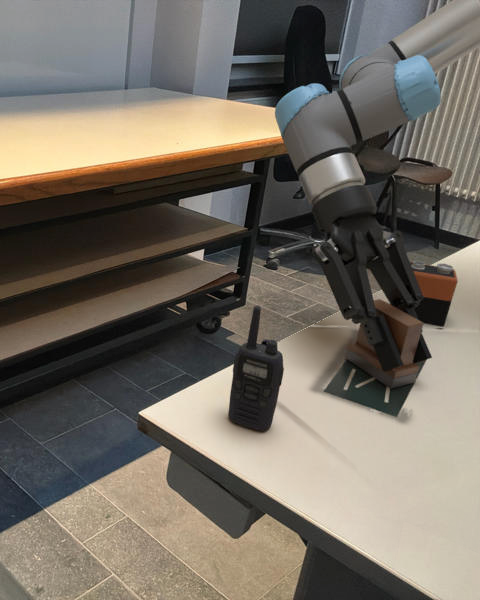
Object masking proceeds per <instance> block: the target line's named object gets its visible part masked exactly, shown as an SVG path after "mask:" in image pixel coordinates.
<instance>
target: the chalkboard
mask: <svg viewBox="0 0 480 600" xmlns="http://www.w3.org/2000/svg"><path fill="white" fill-rule="evenodd" d="M426 362H427V360H424V361H421V362H418V363H415V364H417V365H419V369H418V372H417V376H416V379H415V382H414V383H411V384H407V385H404V386H400V387H397V388H393V389H390V388H389V387H387V386H386V385H384V384H383V383H381V382H380V381H379V380H377V379H376V378H374V377H373V376H371V375H370V374H368V373H367V372H365V371H364V370H362V369H361V368H359V367H358V366H356V365H355V364H353V363H352V362H350V361H349V360H347V359H345V361H344V363H343V364H342V365H341V367H340V368H339V369H338V370H337V372H336V373H335V375H334V376H333V377H332V379H331V380H330V382H329V383H328V384H327V386H326V387H325V388H324V390H323V393H325V394H329V395H332V396H334V397H338V398H340V399H343V400H346V401H348V402H352V403H354V404H357V405H360V406H363V407H366V408H369V409H372V410H374V411H377V412H381V413H382V414H385V415H389V416H392V417H394V418H398V416H399V414H400V412H401V410H402V409H403V407H404V405H405V402H406V401H407V399H408V397H409V396H410V393H411V391H412V390H413V388H414V385H415V383H416V382H417V379H418V377H419V375H420V373H421V372H422V370H423V368H424V366H425V364H426Z"/></svg>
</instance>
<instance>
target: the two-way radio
mask: <svg viewBox="0 0 480 600" xmlns="http://www.w3.org/2000/svg"><path fill="white" fill-rule="evenodd" d="M261 310H262V307H261V306H260V305H255V306H253V310H252V315H251V320H250V324H249V331H248V335H247V336H248V337H247V342H244V343H243V344H241V346H240V347H239V349H238V351H237V353H236V354H235V356H234V360H233V361H234V362H233V367H232V380H231V386H230V393H229V403H228V412H227V415H228V419H229V420H230V421H231V422H233V423H235V424H238V425H240V426H243V427H247V428H249V429H251V430H252V429H253V430H255V431H258V432H259V431H260V432H265V431H268V430H269V429H270V428H271V427H272V424H273V421H274V416H275V412H276V408H277V403H278V399H279V393H280V388H281V386H282V382H283V377H284V371H285V367H284V357H283V353H282V352H281V351H279V350H278V349H279V348H278V342H277V341H276V340H274V339H267V338H265V339H263V340H262V341H261V343H259V342H258V335H259V329H260V320H261V313H262V312H261ZM257 342H258V343H257Z"/></svg>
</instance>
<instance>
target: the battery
mask: <svg viewBox="0 0 480 600" xmlns="http://www.w3.org/2000/svg"><path fill="white" fill-rule="evenodd" d="M410 264H411V267H412V269H413V272H414V274H415V277H416V279H417V282H418V284H419V287H420V289H421V292H422V294H423V300H422V301H420V304H419V305H418V306H416V307H414V310H415V312H416V315H417V317H418V319H419V321H421V322H423V323H424V324H425V325H429V326H436V327H435V329H436V330H437V329H438V330H444V328H443V327H445V324H446V322H447V318H448V314H449V311H450V309H451V305H452V301H453V298H454V294H455V291H456V288H457V284H458V282H459V281H458V277H457V272H456V270H455V269H454V266H453V265H450V264H447V263H437V265H432V264H426V263H425V262H423V261H419V260H414V261H413V262H412V261H410ZM400 302H401V300H400ZM424 324H423V325H424Z"/></svg>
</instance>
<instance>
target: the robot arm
mask: <svg viewBox="0 0 480 600" xmlns="http://www.w3.org/2000/svg"><path fill="white" fill-rule="evenodd" d="M479 48H480V0H451V1H449V2H448V3H446V4H445V5H443V6H441V7H440V8H438V9H437V10H435V11H434V12H432V13H431V14H429V15H428V16H426V17H424V18H423V19H421V20H420V21H419V22H417V23H415V24H414V25H412V26H411V27H409V28H408V29H406V30H405V31H403V32H402V33H400V34H399V35H397V36H395V37H394V38H392V39H391V40H390V41H388V42H387V43H385V44H383V45H382V46H380V47H379V48H377V49H376V50H374V51H372V52H371V53H368V54H365V53H364V54H363V55H362V54H361V55H359V56H356V57H355V58H353V59H351V60H350V61H349V62H347V64H346V65H345V66H344V67H343V69H342V71H341V73H340V76H339V83H338V84H339V90H335V91H333V92H331V93H330V91H329V90H327V88H326V87H325V86H324V85H323V84H321V83H310V84H307V85H301V86H299V87H296V88H294V89H293V90H291V91H289V92H288V93H286V94H285V95H284V96H282V97H281V99H280V100H279V101H278V103H277V104H276V106H275V109H274V117H275V121H276V123H277V126H278V127H277V128H278V129H279V133H280V137H281V139H282V141H283V144H284V147H285V148H286V152H287V153H288V156H289V158H290V160H291V163H292V165H293V168H294V170H295V172H296V175H297V177H298V180H299V182H300V186H301V188H302V190H303V192H304V195H305V197H306V200H307V203H308V204H309V205H311V206H312V207H311V213H312V215H313V218H314V221H315V223H316V226H317V228H318V231H319V232H320V233H322V234H324V242H323V243H321V244H320V245H318V246H316V247H315V248H313V249H312V250H311V255H312V257H313V258H314V259H315V260H316V262H317V263H318V264H319V265H320V267H321V269H322V271H323V274H324V276H325V278H326V281H327V284H328V286H329V288H330V291H331V293H332V295H333V297H334V299H335V301H336V304H337V306H338V309H339V311H340V314H341V316H342V317H343V319H344V320H346V321H349V320H351V323H352V324H355V325H358V324H360V323H361V325H362V328H363V330H364V333H365V335H366V338H367V340H368V343H369V344H370V345H371V346H372V345H373V347H374V349H375V352H376V354H377V357H378V359H379V362H380V364H381V367H382V369H383V372H385V371H388V370H391V369H394V368H397V367H400V366H403V365H404V364H403V362H402V359H401V357H400V354H399V352H398V349H397V347H396V345H395V342H394V340H393V337H392V335H391V332H390V330H389V328H388V325H387V323H386V320H385V318H384V315H379V316H377V317H375V315H376V308H375V304H374V300H375V299H374V297H373V292H372V287H371V283H370V279H369V274H368V271H367V270H369V271H370V272H371V274H372V276H373V277H374V279H375V281H376V282H377V284H378V285H379V288H380V289H381V291H382V293H383V294H384V297H386V299H387V301H388V302H389V304H390V305H392V306H394V307H396V308H397V309H399V310H401V311H403V312H405V313H407V314H408V315H410V316H412V317H414V318H416V319H418V317H417V315H416V312H415V310H414V307H416V306H418V305H419V304H420V301H422V300H423V294H422V292H421V289H420V287H419V284H418V282H417V279H416V277H415V274H414V272H413V269H412V267H411V264H410V262H411V261H410V259H409V257H408V254H407V251H406V249H405V247H404V237H403V236H404V235H403V233H402V231H400V230H398V229H397V230H395V231H393V232H389V231H386V230H384V228H383V226H382V225H381V224H379V222H378V221H377V219H376V213H377V211H378V207H377V204H376V202H375V199H374V197H373V195H372V192H371V190H370V188H369V187H368V186H366V185H365V184H366V178H365V176H364V173H363V171H362V169H361V167H360V164H359V163H358V160H357V157H356V155H355V154H354V151H353V149H352V146H354V145H356V144H359V143H362V142H364V141H366V140H369V139H371V138H373V137H376V136H378V135H380V134H383V133H386V132H388V131H390V130H393V129H395V128H397V127H400V126H402V125H404V124H407V123H409V122H414V121H417V120H418V119H419V118H421V117H423V116H425V115H426V114H429V113H431V112H433V111H435V110H436V109H438V107H439V106H440V104H441V101H442V93H441V89H440V85H439V81H438V79H437V76H436V74H438V73H439V72H441V71H443V70H444V69H446V68H448V67H450V66H451V65H453V64H455V63H456V62H458V61H459V60H462V58H464V57H466V56H467V55H469V54H471V53H472V52H474V51H475V50H477V49H479ZM400 300H401V302H400ZM364 307H365V308H364ZM418 320H419V319H418ZM423 332H424V330H423V329H422V331H421V334H420V338H419V341H418V345H417V348H416V352H415V355H414V359H413V362H414V363H418V362H421V361H424V360H426V361H428V360H430V359H432V358H433V356H432V354H431V352H430V350H429V347H428V344H427V342H426V340H425V338H424V335H423Z"/></svg>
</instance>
